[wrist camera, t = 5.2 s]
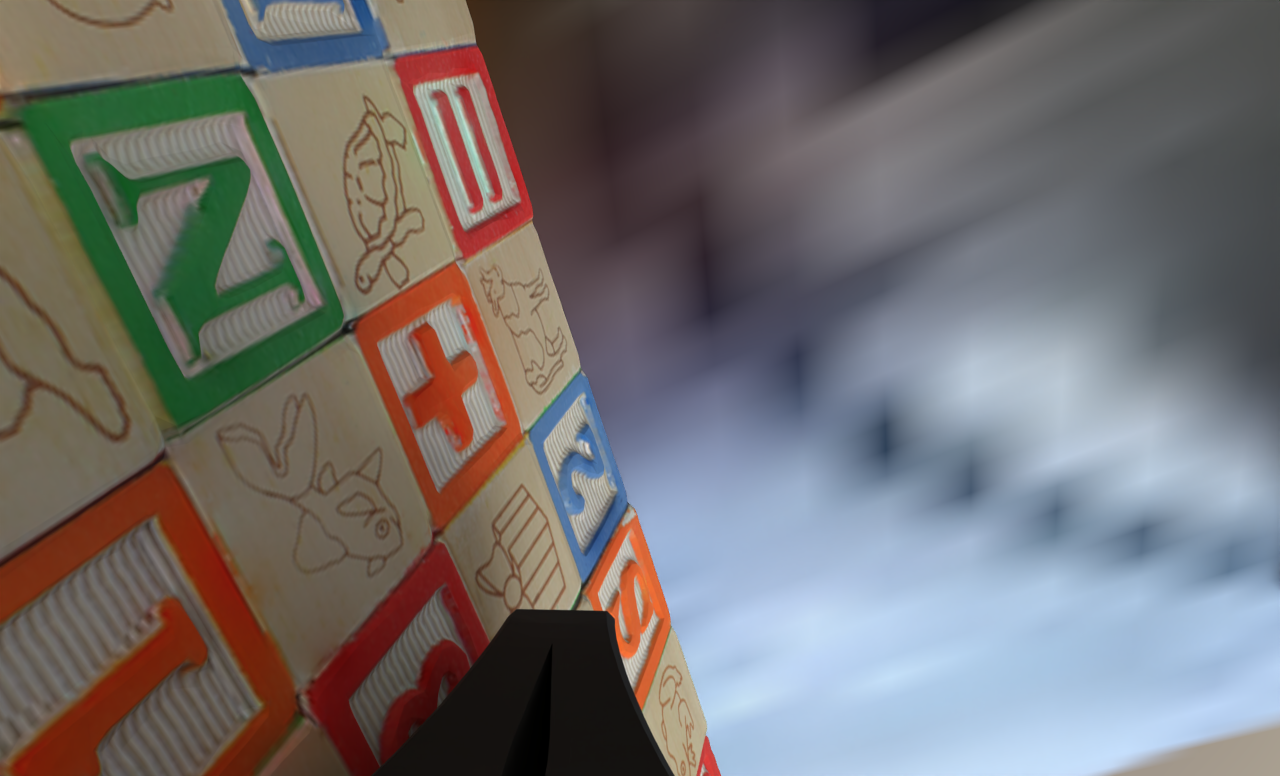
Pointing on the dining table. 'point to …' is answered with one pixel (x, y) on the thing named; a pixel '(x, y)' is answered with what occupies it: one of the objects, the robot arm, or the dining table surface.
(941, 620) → the dining table surface
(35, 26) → the stack of blocks
